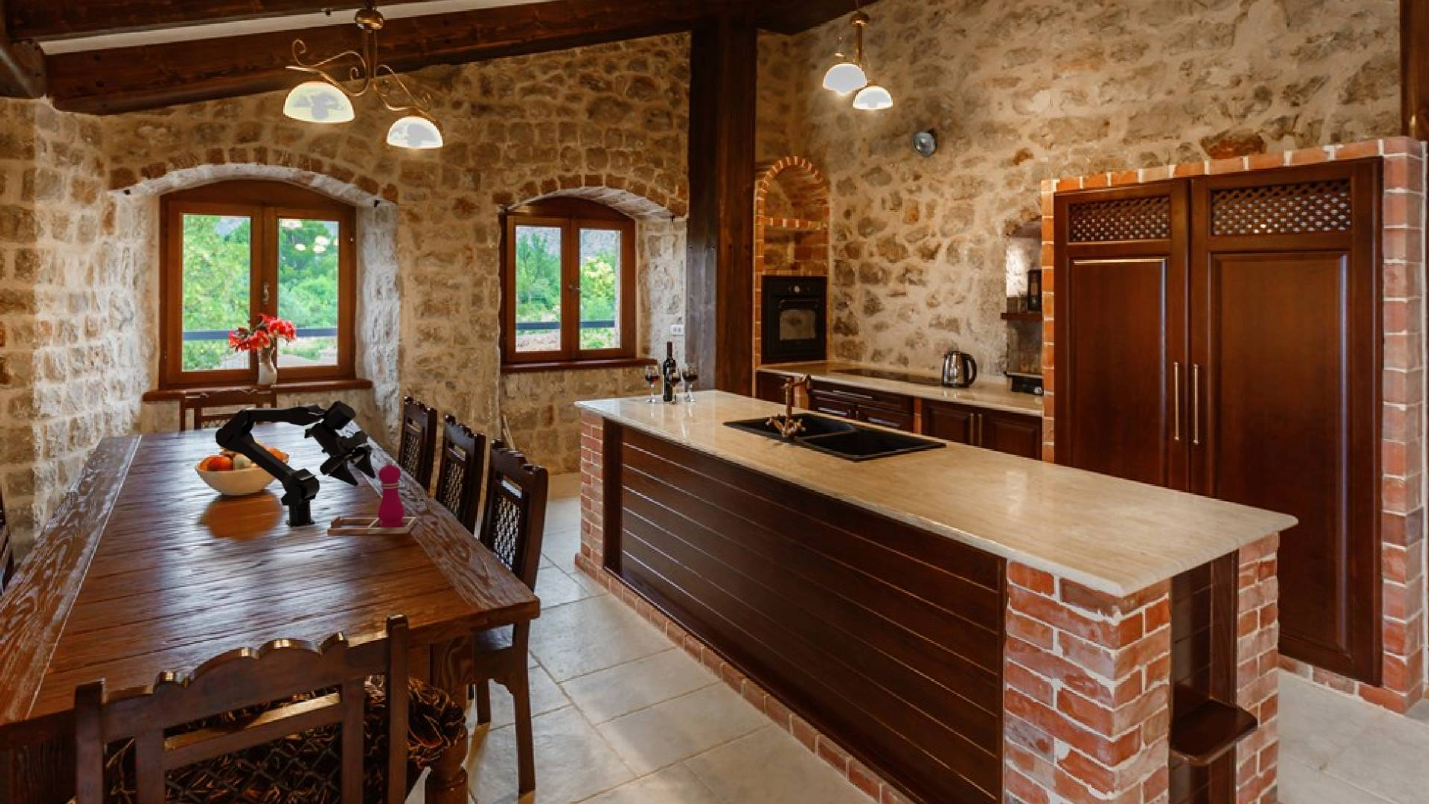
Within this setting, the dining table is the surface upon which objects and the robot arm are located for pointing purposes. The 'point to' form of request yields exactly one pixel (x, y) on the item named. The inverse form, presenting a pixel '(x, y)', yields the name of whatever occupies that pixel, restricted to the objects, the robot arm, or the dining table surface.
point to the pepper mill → (390, 497)
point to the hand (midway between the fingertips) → (366, 481)
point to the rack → (371, 528)
